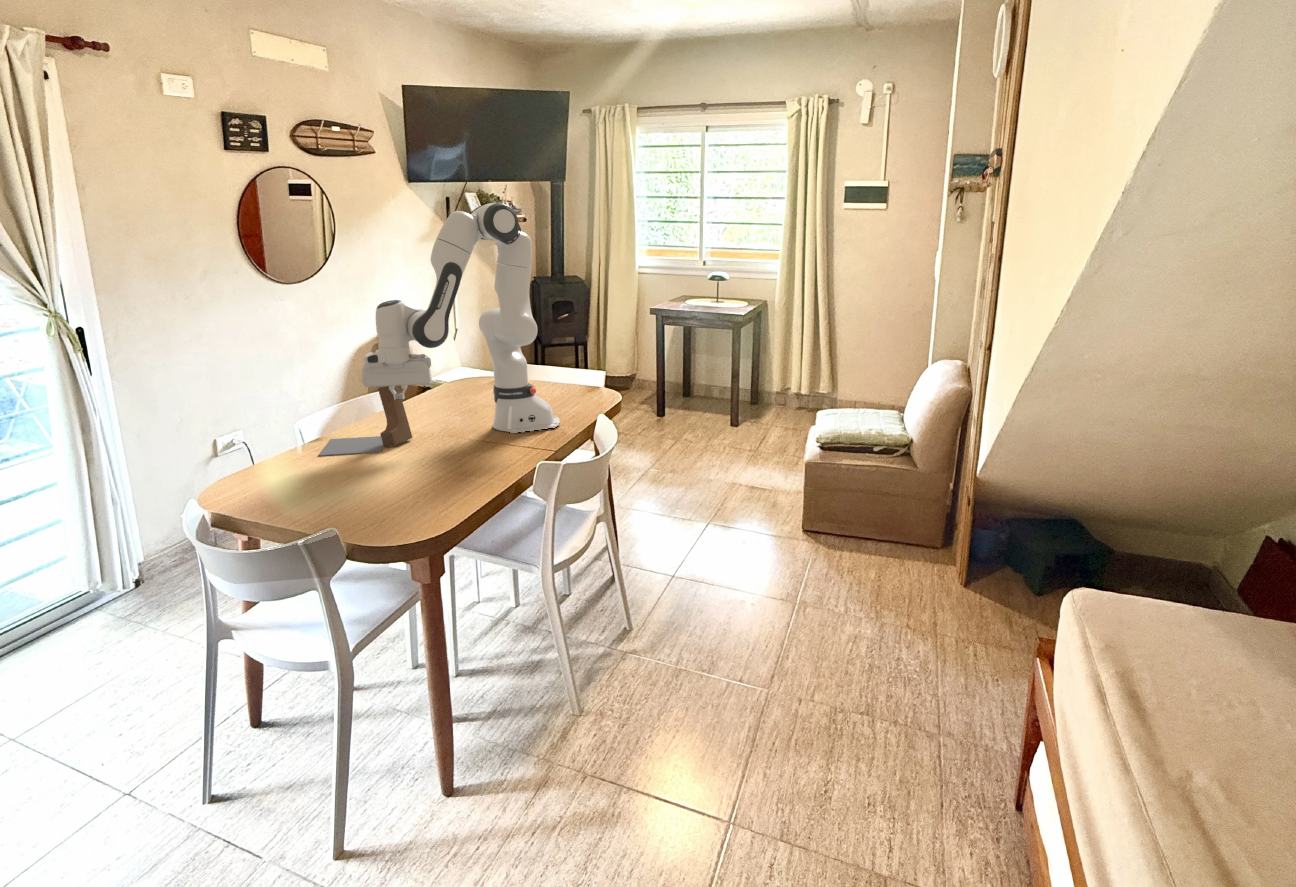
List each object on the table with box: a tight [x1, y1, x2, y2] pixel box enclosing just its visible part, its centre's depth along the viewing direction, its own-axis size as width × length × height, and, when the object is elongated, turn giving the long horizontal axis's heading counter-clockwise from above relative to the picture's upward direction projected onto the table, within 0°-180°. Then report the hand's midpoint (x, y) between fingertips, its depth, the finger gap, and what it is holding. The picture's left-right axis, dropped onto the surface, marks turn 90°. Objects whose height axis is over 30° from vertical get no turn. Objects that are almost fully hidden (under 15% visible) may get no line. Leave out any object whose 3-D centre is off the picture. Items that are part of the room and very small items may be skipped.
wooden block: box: [377, 386, 413, 448], centre depth 231 cm, size 9×4×18 cm, turn 160°
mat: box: [317, 435, 384, 457], centre depth 231 cm, size 18×16×1 cm
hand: (399, 399), depth 229 cm, fingers closed
